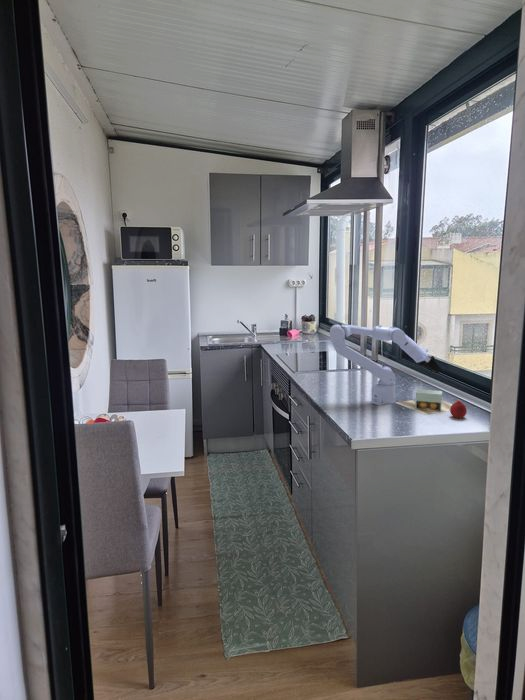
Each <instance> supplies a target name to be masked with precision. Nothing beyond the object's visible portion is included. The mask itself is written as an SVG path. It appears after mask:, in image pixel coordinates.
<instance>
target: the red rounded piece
mask: <svg viewBox="0 0 525 700" xmlns="http://www.w3.org/2000/svg"><path fill="white" fill-rule="evenodd" d="M451 404H452V406H451V408H450V411H449V412H450V414H451V416H452V417H454V418H456V419H463V418H464V417H466V415H467V407H466V405H465V404H464V403H463V402H462V401H461V400H460V399H456V401H455V402H454V403H451Z"/></svg>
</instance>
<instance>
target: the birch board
mask: <svg viewBox="0 0 525 700" xmlns="http://www.w3.org/2000/svg"><path fill="white" fill-rule="evenodd" d="M395 404H396V405H397V404H398V405H400V406H402V407H404V408H407V409H410V410H412V411H415V412H418V413H420V414H421V415H422V414H423V415H425V416H427V415H435V414H441V413H445V412H450V408H451V406H452V404H453V403H450V402H447V401H445V400H442V406H441V411H440V408H439V407H437V408H435V409H432V408H431V407H427V406H426V407H425V408H422V407H420V406H417V407H416V409H415V399H410V400H404V401H398V402H397V401H396V402H395Z"/></svg>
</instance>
